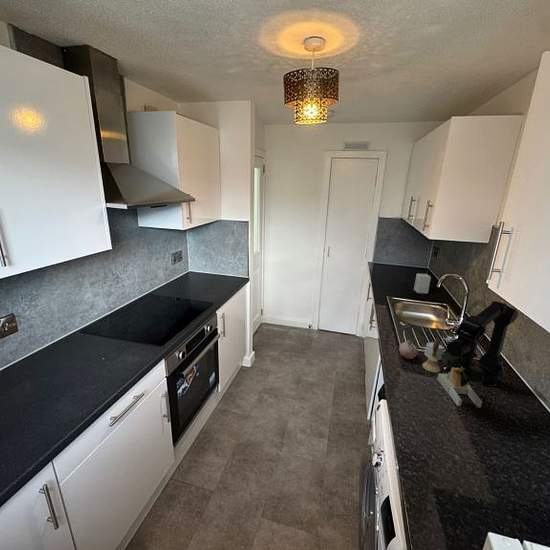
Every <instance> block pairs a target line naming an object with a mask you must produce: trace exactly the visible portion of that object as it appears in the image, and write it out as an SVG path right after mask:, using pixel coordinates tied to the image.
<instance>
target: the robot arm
mask: <svg viewBox="0 0 550 550" xmlns="http://www.w3.org/2000/svg"><path fill="white" fill-rule="evenodd" d="M518 316H519V311H518V310H517V309H516V308H513V307H510V306H509V305H508V304H506V303H503V302H500V301H497V300H493V301H492V302H490V305H488V306H487V307H486V308H484V309H483V310H482V311H481V312H479V313H477V315H469V316H468V317H466V318H464V319H462V320H461V322H460V323H459V325H458V327H457V329H456V330H455V332H454V335H455V336H457V338H454V339H453V340H452V341H450V342H449V343H447V345H446V349H445V350H444V352H443V354H441V357H442V359H441V362H442V363H443V364H444V365H445V366H446V367H449V368H450V367H451V368H464V369H465V370H463V372H459V373H460V374H461V386H465V385H466V384H467V383H468V382H469V383H470V382H478V383H481V385H483V386H484V385H485V386H484V387H491V386H490V385H493V386H494V384H497V382H498V381H499V378H503V376H504V373H505V368H504V359H503V357H502V354H501V353H502V350H503V347H504V341H505V339H506V336H507V332H508V327H509V326H510V325H512V324H513V323H514V322H515V321H516V319H518ZM492 322H493V323H494V325H493V327H492V333H491V337H490V341H489V344H488V348H487V352H486V353H484V354H482V355H481V356H480V358H479V359H478V368H479V369H481V370H479V369H477V368H476V369H475V368H474V369H473V368H472V367H475V364H476V363H475V362H474V359H475V358H477V357H478V354H477V353H476V351H477V347H478V344H479V342H480V341H481V340H482V338H483V337H484V335H485V334H486V329H487V326H488V325H489V324H490V323H492Z"/></svg>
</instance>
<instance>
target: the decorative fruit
mask: <svg viewBox="0 0 550 550" xmlns="http://www.w3.org/2000/svg"><path fill="white" fill-rule="evenodd" d="M398 348H399V349H398V350H399V353H400V355H401V356H402V357H404V358H405V359H407V360H410V359H414V358H415V357H416V356H417V355H418V349H417V347H416V346H415V345H414V343H413V342H412V341H410V340H409V339H408V340H406V341H404V342H402V343H401V344H399V347H398Z"/></svg>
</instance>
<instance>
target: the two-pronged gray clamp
mask: <svg viewBox="0 0 550 550" xmlns="http://www.w3.org/2000/svg"><path fill="white" fill-rule="evenodd" d="M450 373H451V371H448V372H447V373H440V372H438V374H437V378H436V380H438V382H439V383H440V384H441V386H442V387H443V389H444V390H445V391H446V393H447V394H448V395H449V396H450V397H451V399H452V400H453V402H454V403H455V404H456V406H457V407H461V406H462V403H463V399H462V398H461V397H460V395H467V396H468V397H469V398H470V400H471V402H473V404H474V405H475V406H476V407H477V408H480V409H481V408H482V404H483V400H482V399H481V398H480V397H479V395H477V394H476V392H475V391H474V390H473V388H472V387H471V386H470V384H468V388H456V387H454V386H453V384H452V383H451V382H450V380H449V377H450Z"/></svg>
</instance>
